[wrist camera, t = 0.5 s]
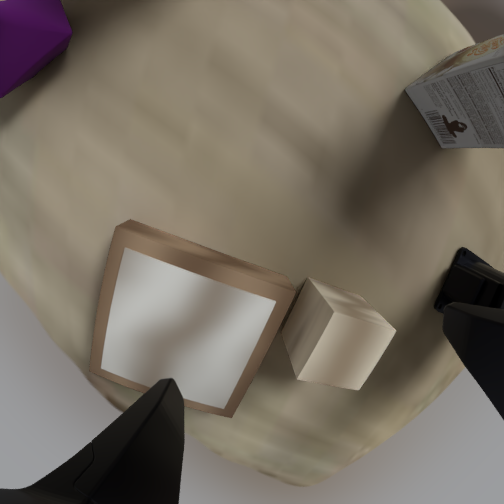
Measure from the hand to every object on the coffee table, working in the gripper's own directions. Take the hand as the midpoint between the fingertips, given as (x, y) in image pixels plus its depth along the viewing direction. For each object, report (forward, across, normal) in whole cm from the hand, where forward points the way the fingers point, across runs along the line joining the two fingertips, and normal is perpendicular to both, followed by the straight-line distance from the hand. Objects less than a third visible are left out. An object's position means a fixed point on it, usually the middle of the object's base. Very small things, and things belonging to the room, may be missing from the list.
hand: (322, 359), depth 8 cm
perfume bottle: (+13, +14, -22) cm, 29 cm away
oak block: (+13, -3, +6) cm, 15 cm away
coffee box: (+14, -19, -10) cm, 25 cm away
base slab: (+13, +8, +4) cm, 16 cm away
